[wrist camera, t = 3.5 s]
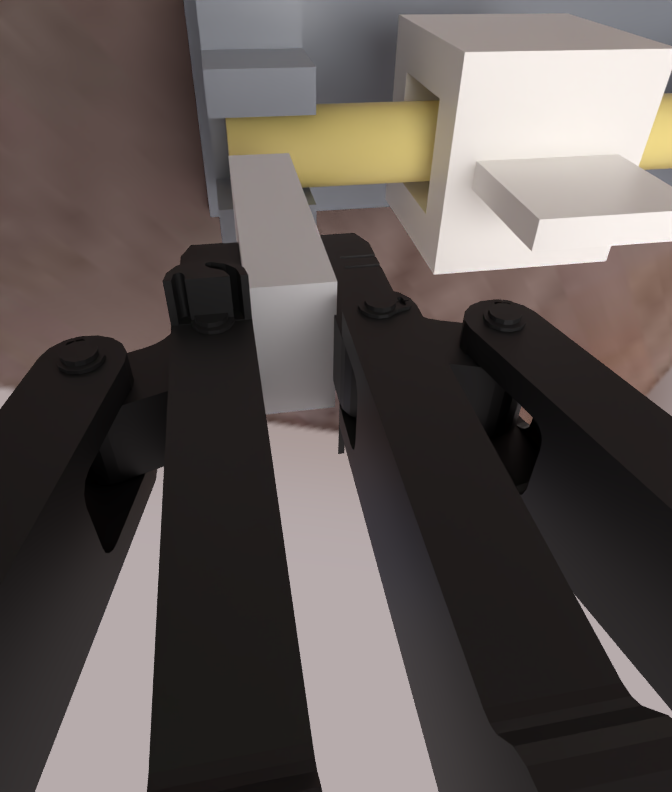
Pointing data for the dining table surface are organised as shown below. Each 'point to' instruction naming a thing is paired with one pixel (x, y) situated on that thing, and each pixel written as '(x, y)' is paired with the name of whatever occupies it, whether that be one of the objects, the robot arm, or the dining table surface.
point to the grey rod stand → (349, 90)
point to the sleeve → (531, 139)
